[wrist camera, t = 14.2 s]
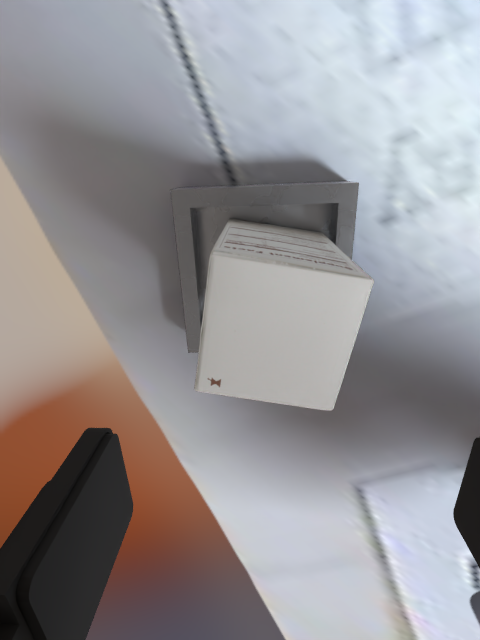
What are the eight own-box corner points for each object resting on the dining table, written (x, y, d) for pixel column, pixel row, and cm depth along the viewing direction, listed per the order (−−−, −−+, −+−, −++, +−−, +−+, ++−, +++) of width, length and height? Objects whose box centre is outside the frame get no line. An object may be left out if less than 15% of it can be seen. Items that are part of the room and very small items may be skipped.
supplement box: (302, 318, 29) (333, 418, 17) (215, 304, 29) (188, 395, 17) (325, 230, 26) (381, 279, 14) (228, 213, 26) (206, 249, 14)
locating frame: (347, 181, 25) (358, 182, 22) (335, 334, 30) (343, 350, 27) (179, 187, 26) (170, 189, 23) (194, 336, 31) (188, 352, 28)
